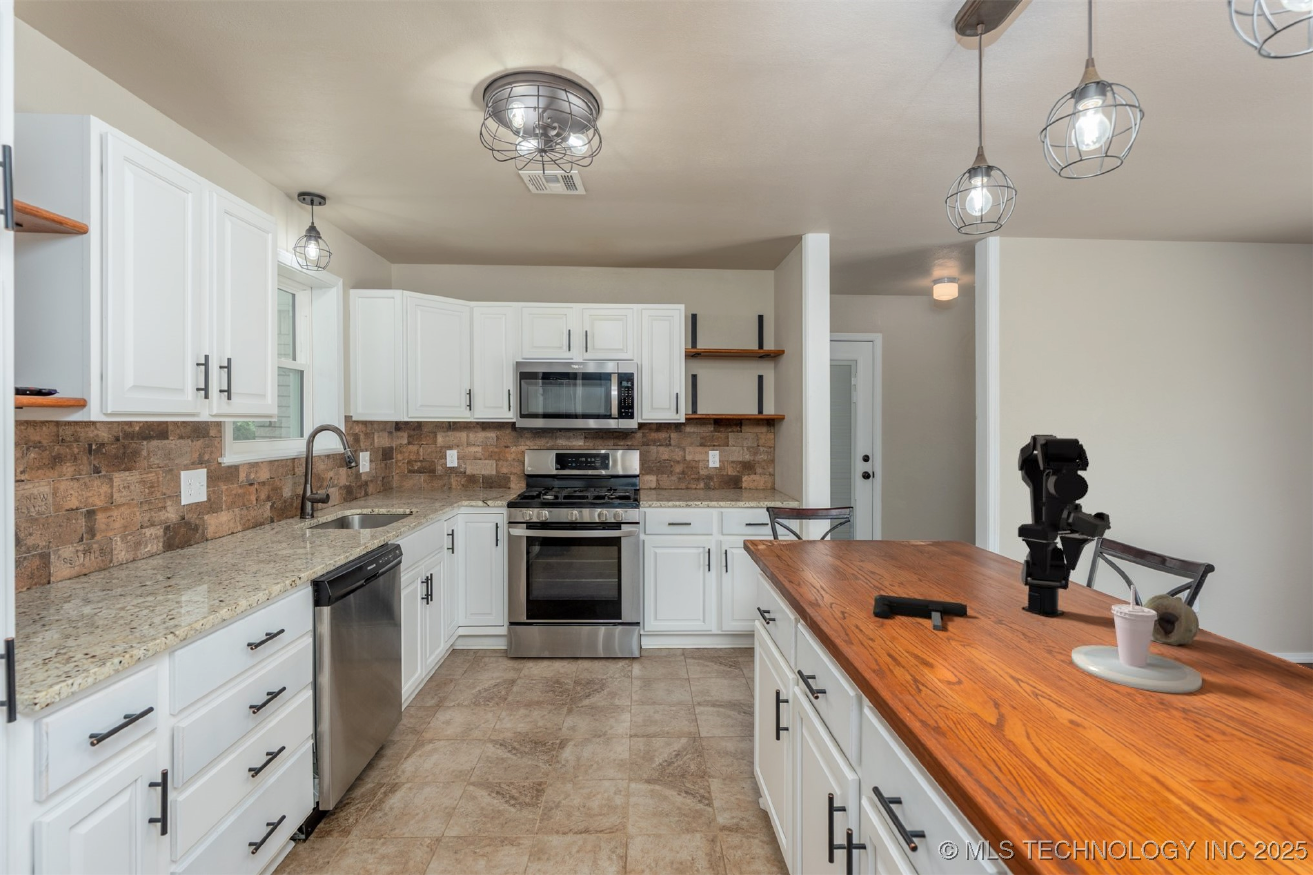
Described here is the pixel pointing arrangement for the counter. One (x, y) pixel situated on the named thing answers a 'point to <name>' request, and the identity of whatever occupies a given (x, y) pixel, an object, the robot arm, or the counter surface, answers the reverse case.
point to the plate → (1137, 670)
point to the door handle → (917, 608)
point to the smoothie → (1133, 631)
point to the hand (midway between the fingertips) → (1058, 571)
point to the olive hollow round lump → (1172, 620)
